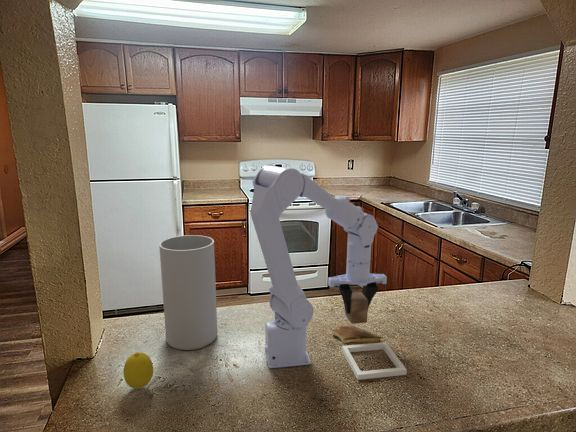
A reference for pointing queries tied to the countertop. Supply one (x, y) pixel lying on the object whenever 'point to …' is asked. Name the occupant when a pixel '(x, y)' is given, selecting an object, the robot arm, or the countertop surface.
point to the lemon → (138, 370)
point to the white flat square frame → (373, 373)
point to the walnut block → (358, 308)
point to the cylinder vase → (189, 291)
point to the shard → (354, 334)
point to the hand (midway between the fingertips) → (356, 311)
